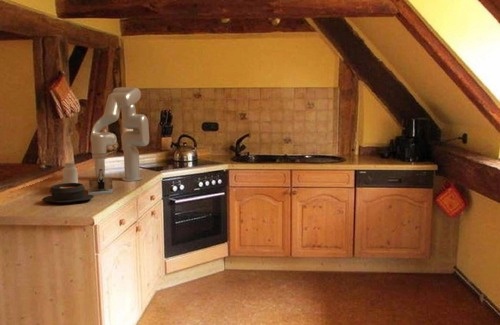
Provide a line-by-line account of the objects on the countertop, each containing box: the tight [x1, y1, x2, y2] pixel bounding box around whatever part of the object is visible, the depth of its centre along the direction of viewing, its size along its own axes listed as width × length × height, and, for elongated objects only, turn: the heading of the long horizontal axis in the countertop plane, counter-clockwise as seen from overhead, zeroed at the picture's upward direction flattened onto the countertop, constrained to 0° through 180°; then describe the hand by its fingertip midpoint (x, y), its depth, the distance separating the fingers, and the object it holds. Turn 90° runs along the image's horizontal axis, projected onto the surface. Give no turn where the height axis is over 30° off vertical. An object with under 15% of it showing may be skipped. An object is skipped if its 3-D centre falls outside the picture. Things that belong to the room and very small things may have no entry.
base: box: [87, 188, 114, 196], centre depth 245 cm, size 13×13×6 cm
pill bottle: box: [62, 162, 79, 184], centre depth 256 cm, size 8×8×15 cm
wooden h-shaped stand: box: [88, 177, 114, 190], centre depth 245 cm, size 12×6×5 cm, turn 112°
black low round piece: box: [41, 182, 95, 205], centre depth 223 cm, size 25×19×8 cm
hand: (101, 187), depth 245 cm, fingers closed on wooden h-shaped stand, 6 cm apart
